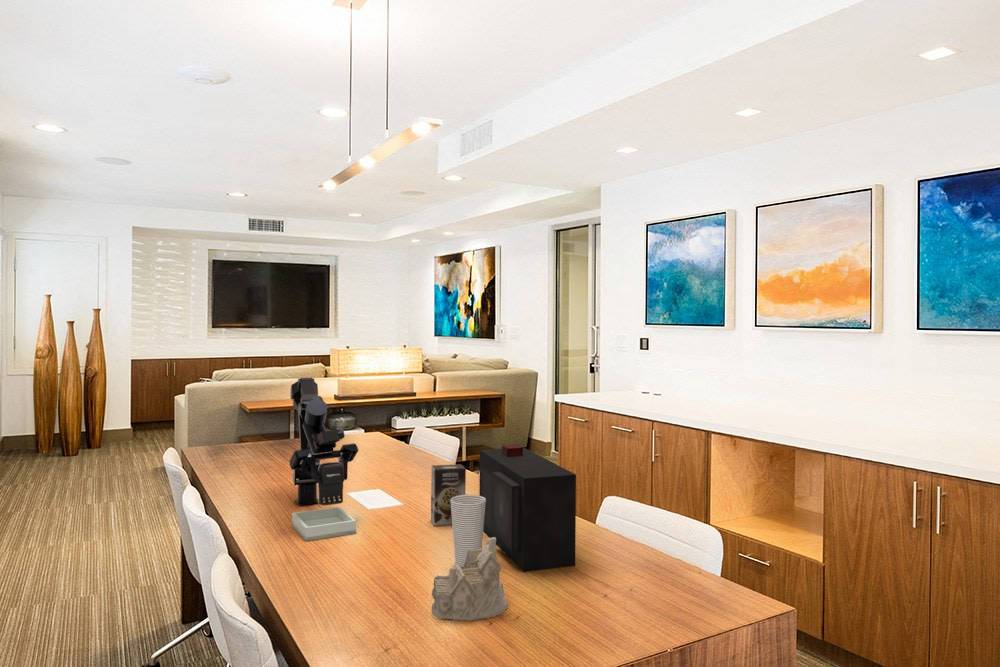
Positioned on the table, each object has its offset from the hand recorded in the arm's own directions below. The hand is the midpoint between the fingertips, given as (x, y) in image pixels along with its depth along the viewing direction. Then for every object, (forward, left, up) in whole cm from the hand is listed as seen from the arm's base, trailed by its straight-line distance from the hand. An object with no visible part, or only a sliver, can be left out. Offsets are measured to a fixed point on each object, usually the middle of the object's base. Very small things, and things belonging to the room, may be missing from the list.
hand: (333, 481), depth 188 cm
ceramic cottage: (+61, +11, -14) cm, 64 cm away
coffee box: (+9, +31, -14) cm, 35 cm away
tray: (-1, -2, -13) cm, 14 cm away
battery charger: (-1, 0, -7) cm, 7 cm away
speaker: (+36, +38, -14) cm, 54 cm away
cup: (+41, +21, -14) cm, 48 cm away
